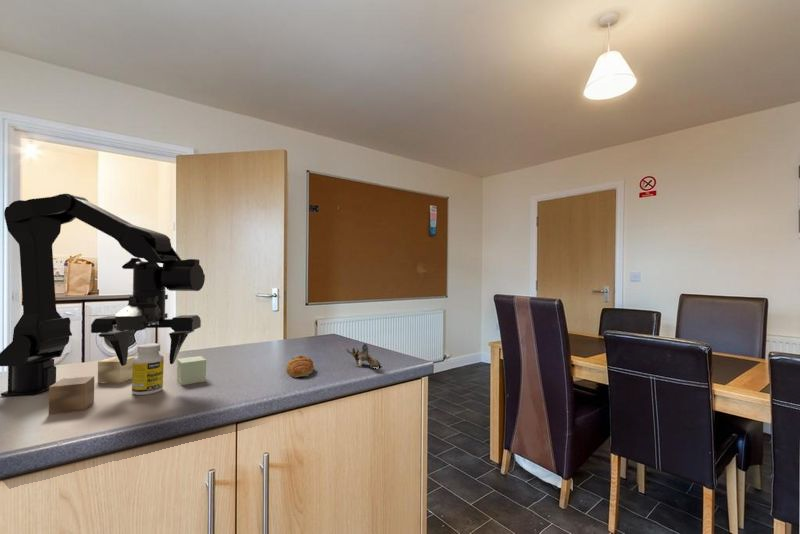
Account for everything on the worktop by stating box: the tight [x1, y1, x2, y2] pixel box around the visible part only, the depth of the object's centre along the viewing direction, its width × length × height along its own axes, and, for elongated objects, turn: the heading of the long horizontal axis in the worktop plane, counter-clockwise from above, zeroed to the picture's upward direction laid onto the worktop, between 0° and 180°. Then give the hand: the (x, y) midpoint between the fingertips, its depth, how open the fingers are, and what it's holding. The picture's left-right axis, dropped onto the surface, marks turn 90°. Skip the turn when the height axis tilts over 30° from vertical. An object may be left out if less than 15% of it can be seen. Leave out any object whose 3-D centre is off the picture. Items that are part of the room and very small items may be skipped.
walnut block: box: [48, 375, 95, 416], centre depth 68 cm, size 5×5×5 cm
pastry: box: [285, 355, 315, 378], centre depth 92 cm, size 9×7×4 cm
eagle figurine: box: [345, 343, 381, 369], centre depth 100 cm, size 8×7×9 cm
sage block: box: [176, 355, 207, 386], centre depth 85 cm, size 5×5×5 cm
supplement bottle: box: [131, 342, 165, 396], centre depth 77 cm, size 5×5×10 cm
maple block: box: [97, 355, 137, 384], centre depth 85 cm, size 5×5×5 cm
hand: (148, 364), depth 77 cm, fingers open, 9 cm apart
